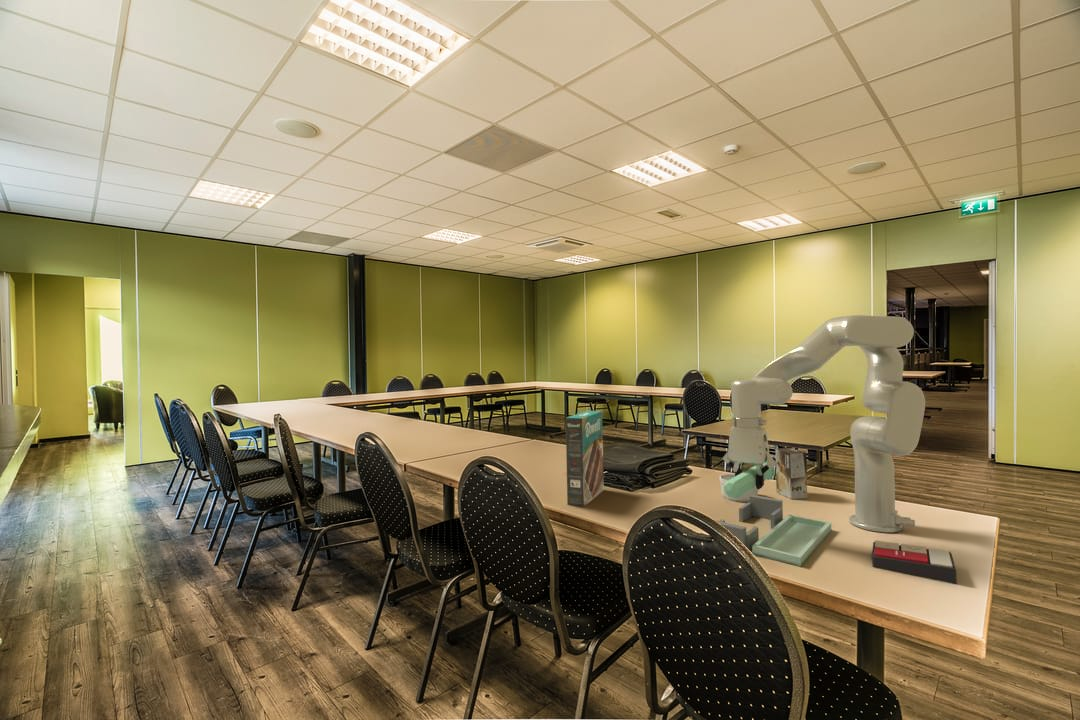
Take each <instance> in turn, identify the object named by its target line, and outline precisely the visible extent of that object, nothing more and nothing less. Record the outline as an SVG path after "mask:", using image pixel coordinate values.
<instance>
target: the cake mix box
mask: <svg viewBox="0 0 1080 720" xmlns="http://www.w3.org/2000/svg"><path fill="white" fill-rule="evenodd" d="M603 431H604V429H603V411H602V410H585V411H582V412H579V413H576V414H574V415H570V416H566V417H565V441H566V442H565V444H566V445H565V450H566V451H565V452H566V458H565V459H566V494H567V495H566V498H567V500H566V502H567V503H566V505H567V506H574V507H583V508H584V507H585V506H587V504H589V503H590V502H592V500H594V499H595V498H596V497H597V496H599V494H601V493H602V492H604V489H605V487H604V480H605V479H604V439H603V438H604V437H603V436H604V433H603Z"/></svg>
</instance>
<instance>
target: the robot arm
mask: <svg viewBox="0 0 1080 720" xmlns="http://www.w3.org/2000/svg"><path fill="white" fill-rule="evenodd" d="M914 334H915V330H914V327H913V325H912V323H911V322H910V321H909V320H907V319H906V318H905V317H900V316H886V315H860V314H859V315H858V314H857V315H854V314H853V315H844V316H836V317H831V318H829V319H828V320H826V321H824V322H823V323H822V324H821V325H820V326H819V327H817V328H816V329H815V330H814V331H813V332H812V333H811V334H810V335H809V336H807V338H806V339H804V340H803V341H802V342H801V343H800V344H798V345H797V347H795V348H794V349H791V350H790V351H788V352H786V353H785V354H783V355H782V356H780V357H778V358H776V359H775V360H773V361H772V362H770V363H769V364H767V365H766V366H764V367H763V368H762V369H760V370H759V372H758V373H757V374H755V375H754V376H753V377H752V378H751V379H735V380H733V381H732V382H731V385H730V386H731V387H730V389H731V390H730V391H731V409H732V410H731V411H732V426H731V427H730V431H729V436H728V437H729V438H728V450H727V452H726V453H725V454H724V456H722V460H723V461H724V462H725V463H726V464H728V466H729V467H730V468H731V469H732V471H733V472H734V474H735V476H737V475H739V474H741V473H743V472H744V471H743V470H742V464H750V465H754V466H755V467H756V470H757V475H756V489H759V490H760V489H762V488H763V487H764V485H765V481H764V473H765V472H766V471H767V470H769V469H770V468H771V467H773V466H774V467H776V460H775V459H773V457H772V455H770V448H769V440H768V435H767V431H766V428H764V427H763V426H764V425H767V423H768V421H767V420H766V419H763V417H762V405H770V406H772V405H773V406H779V405H783V404H784V405H785V404H786V403H788V402H789V401H790V400H791V399H792V397H793V393H794V391H793V388H792V386H791V384H790V383H789V381H790V380H792V379H795V378H797V377H800V376H803V375H808V374H810V373H813V372H816V371H818V370H820V369H821V368H823V367H824V366H825V365H826V363H827V364H828V362H829V360H831V359H832V358H833V357H834V356H836V355H837V353H839V352H840V351H842V349H843V348H845V347H853V346H854V347H855V346H856V347H857V346H858V347H859V348H860V349H861V350H862V352H863V353H864V354H865V357H866V361H867V366H866V367H867V368H866V376H865V380H864V386H863V391H862V397H861V398H862V399H861V400H862V404H863V407H865V408H866V409H867V410H869V411H871V412H874V413H880V414H886V415H887V416H886V417H879V416H872V415H868V416H867V415H865V416H861V417H859V418H857V419H855V420H854V421H853V422H852V423H851V426H850V429H849V430H850V431H849V432H850V433H849V434H850V440H851V445H852V449H853V456H854V457H853V458H854V504H855V505H854V506H855V507H854V510H855V511H854V512H855V514H853V515H850V516H849V518H848V519H849V523H851V525H853V526H854V527H855V526H856V527H858V528H861V529H863V530H867V531H871V532H872V531H873V532H879V533H898V532H901V531H902V530H903V526H907V527H912V528H915V527H916V520H915V519H911V517H909V516H908V517H907V516H901V515H900V514H899V513H898V510H896V489H895V487H896V486H895V484H896V483H895V482H896V481H895V479H896V478H895V477H896V476H895V473H896V472H895V471H896V470H895V463H894V460H893V456H897V457H898V456H900V457H901V456H904V457H905V456H908V455H910V454H911V453H912V452H914V450H915V449H917V446H918V444H919V441H920V436H921V433H922V432H921V431H922V427H923V420H924V416H925V411H926V397H925V395H924V392H923V390H922V389H921V388H920V386H918V385H917V384H915V383H912V382H910V381H904V380H903V375H904V360H903V356H902V354H901V352H900V351H899V349H898V348H901V347H904V346H906V345H908V344H909V343H910V342H911V340H912V339H913V337H914ZM892 455H893V456H892ZM767 461H768V464H767V465H766V466H763V464H764V463H765V462H767Z"/></svg>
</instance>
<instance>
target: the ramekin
mask: <svg viewBox="0 0 1080 720" xmlns="http://www.w3.org/2000/svg"><path fill="white" fill-rule="evenodd" d="M733 477H735V473H724V474H721V475H719V482H720V490H721V491H720V492H721V495H722V496H723V498H725V499H726V500H729V501H732V502H743V503H748V502H749V503H750V496H751V495H756V496H759V490H760V489H756V486H755V487H754V488H752V489H751V490H749V491H747V492H746V493H744V494H743V495H741V496H739V497H738V498H733V497H729V496H728V495H727V494H726V493H725V492H724V484H725V483H726V482H727V481H728V480H730V479H732V478H733Z"/></svg>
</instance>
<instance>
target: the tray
mask: <svg viewBox="0 0 1080 720" xmlns="http://www.w3.org/2000/svg"><path fill="white" fill-rule="evenodd" d="M831 531H832V522H830V521H824V520H820V519H814V518H810V517H803V516H799V515H795V514H788V515H787V516H785V518H783V520H782V521H781V522H780V523H779V524H777V525H776V526H775V527H774V528H773V529H772V528H770V530H769V531H768V532H767V533H766V534H764V535H763V536H762V537H761V538H759V540H758V541H757V542H756V543H755V544H754V545H753V546H752V548H751V549H752V552H751V553H752V555H754V556H756V557H757V556H758V557H760V558H761V557H762V558H765V559H770V560H772V561H776V562H781V563H785V564H787V565H792V566H796V567H800V568H801V567H802V566H803V565H804V563H806V561H808V559H809V557H810V556H811V555H812V554H813V553H814V552H815V551H816V550H817V548H819V546H820V545H821V544H822V542H823V541H824V540H825V539H826V538H827V537H828V535H829V534H830V533H831Z"/></svg>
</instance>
